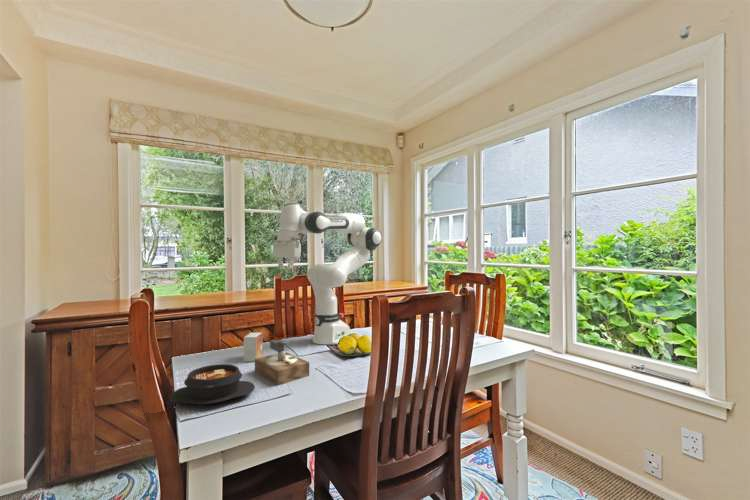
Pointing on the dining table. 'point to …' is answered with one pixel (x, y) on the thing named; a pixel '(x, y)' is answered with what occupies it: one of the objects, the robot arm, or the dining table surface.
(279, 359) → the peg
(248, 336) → the small box
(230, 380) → the casserole
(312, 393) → the dining table surface
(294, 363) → the dial block
